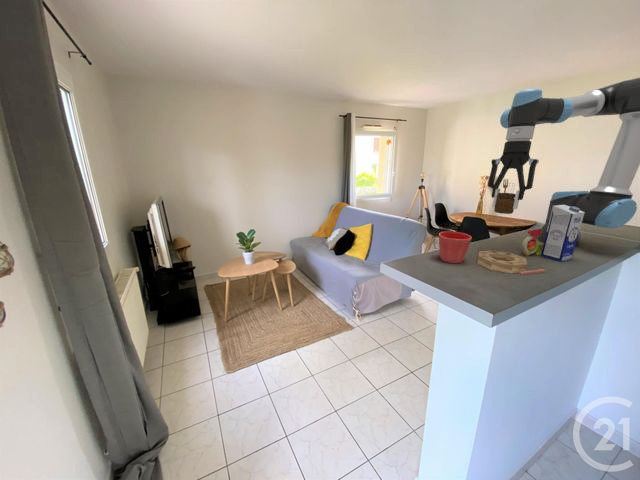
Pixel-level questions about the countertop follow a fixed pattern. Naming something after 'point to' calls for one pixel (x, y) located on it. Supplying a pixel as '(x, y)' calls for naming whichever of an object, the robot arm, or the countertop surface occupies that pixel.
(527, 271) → the pink stick
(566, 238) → the milk carton
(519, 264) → the octagonal ring
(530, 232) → the bird rattle
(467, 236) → the flower pot
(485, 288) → the countertop surface
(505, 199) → the utensil holder
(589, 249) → the countertop surface
